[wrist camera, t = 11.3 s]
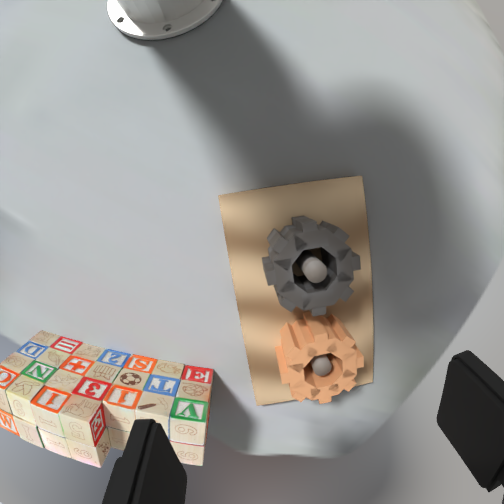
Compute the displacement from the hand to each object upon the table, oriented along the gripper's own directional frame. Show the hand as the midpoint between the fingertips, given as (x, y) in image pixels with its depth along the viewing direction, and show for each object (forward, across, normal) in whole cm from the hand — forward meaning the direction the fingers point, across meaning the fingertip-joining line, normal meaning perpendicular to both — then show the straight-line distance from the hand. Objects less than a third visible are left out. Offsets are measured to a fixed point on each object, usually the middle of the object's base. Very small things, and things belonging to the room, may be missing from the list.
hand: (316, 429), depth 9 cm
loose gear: (+20, -4, +10) cm, 23 cm away
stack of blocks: (+22, +18, +11) cm, 30 cm away
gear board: (+22, -4, +5) cm, 23 cm away
